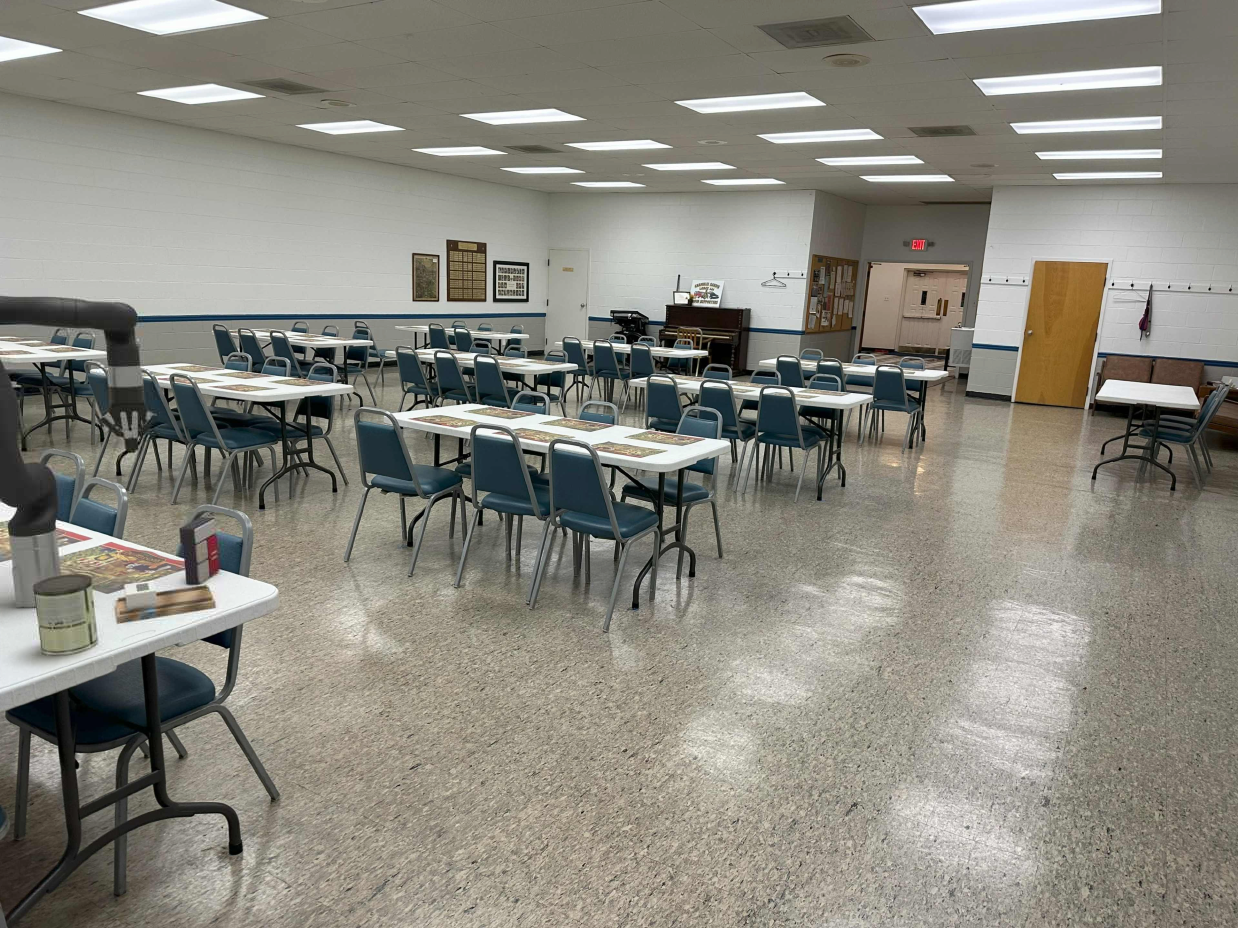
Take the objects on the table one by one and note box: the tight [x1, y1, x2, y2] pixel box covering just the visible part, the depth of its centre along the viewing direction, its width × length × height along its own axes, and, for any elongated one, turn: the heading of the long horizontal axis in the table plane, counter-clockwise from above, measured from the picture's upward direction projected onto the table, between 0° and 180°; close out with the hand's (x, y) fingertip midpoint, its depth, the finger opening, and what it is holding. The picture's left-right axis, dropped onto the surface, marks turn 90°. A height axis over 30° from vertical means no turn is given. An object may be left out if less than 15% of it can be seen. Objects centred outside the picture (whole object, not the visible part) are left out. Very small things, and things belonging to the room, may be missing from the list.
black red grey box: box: [178, 516, 220, 586], centre depth 218 cm, size 11×4×15 cm, turn 179°
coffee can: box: [33, 573, 99, 657], centre depth 175 cm, size 10×10×14 cm
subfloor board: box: [114, 584, 217, 624], centre depth 199 cm, size 20×12×2 cm, turn 122°
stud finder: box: [124, 580, 157, 609], centre depth 196 cm, size 6×8×4 cm
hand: (132, 452), depth 213 cm, fingers closed
